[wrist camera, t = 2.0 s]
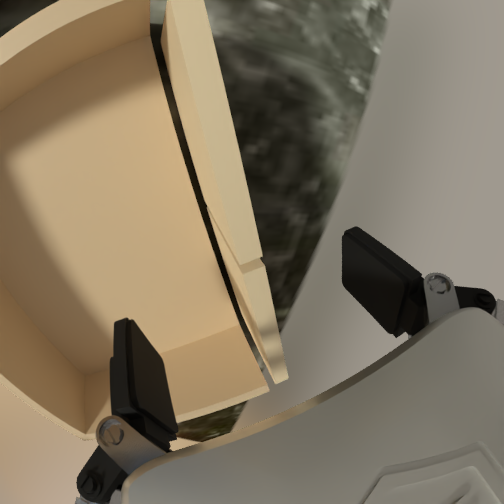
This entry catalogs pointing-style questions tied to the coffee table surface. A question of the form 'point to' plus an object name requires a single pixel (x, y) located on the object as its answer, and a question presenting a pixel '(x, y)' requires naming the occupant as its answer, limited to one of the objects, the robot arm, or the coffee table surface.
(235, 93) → the coffee table surface
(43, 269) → the carton
